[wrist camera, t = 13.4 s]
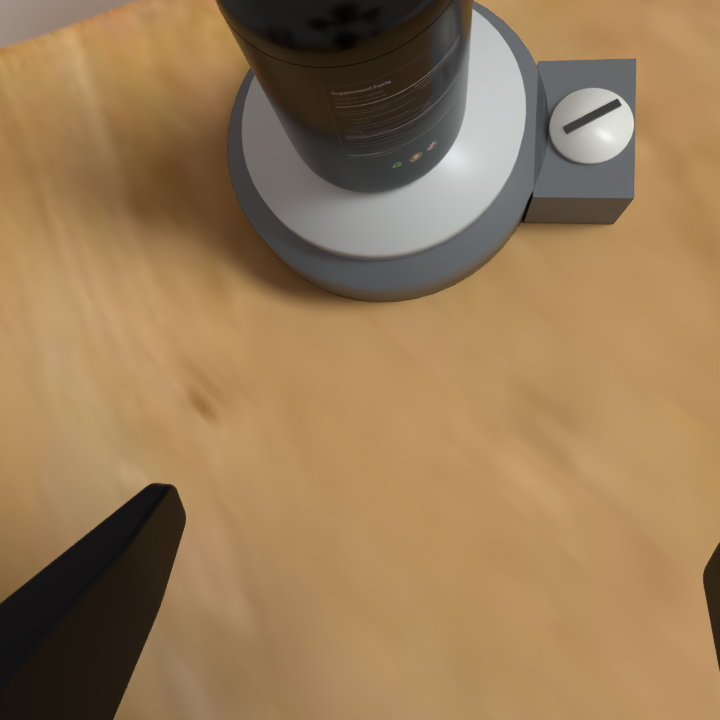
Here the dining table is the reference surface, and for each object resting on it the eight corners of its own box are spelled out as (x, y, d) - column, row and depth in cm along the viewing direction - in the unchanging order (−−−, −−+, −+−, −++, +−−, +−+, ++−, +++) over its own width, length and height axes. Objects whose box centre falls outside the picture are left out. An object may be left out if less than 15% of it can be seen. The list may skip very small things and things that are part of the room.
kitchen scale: (612, 311, 23) (642, 288, 19) (233, 296, 25) (200, 273, 22) (617, 18, 24) (646, -51, 21) (262, 32, 27) (235, -28, 23)
